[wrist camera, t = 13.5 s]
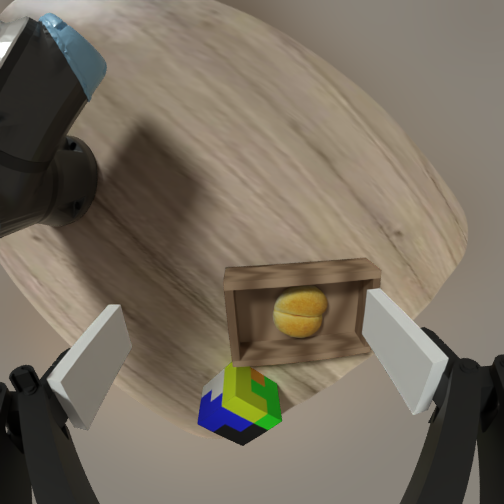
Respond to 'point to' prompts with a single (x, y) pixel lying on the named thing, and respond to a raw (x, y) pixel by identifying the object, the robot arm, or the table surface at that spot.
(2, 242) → the table surface
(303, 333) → the bread roll
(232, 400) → the puzzle toy
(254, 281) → the wooden box
